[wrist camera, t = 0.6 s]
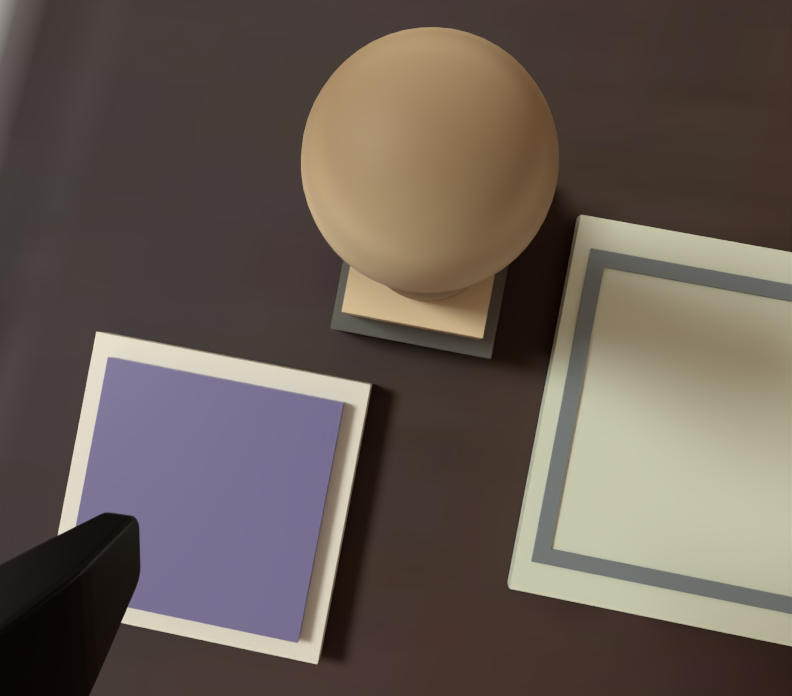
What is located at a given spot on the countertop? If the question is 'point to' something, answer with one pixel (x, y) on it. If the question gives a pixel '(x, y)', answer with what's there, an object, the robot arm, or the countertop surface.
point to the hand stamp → (428, 184)
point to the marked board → (666, 434)
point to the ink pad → (221, 488)
